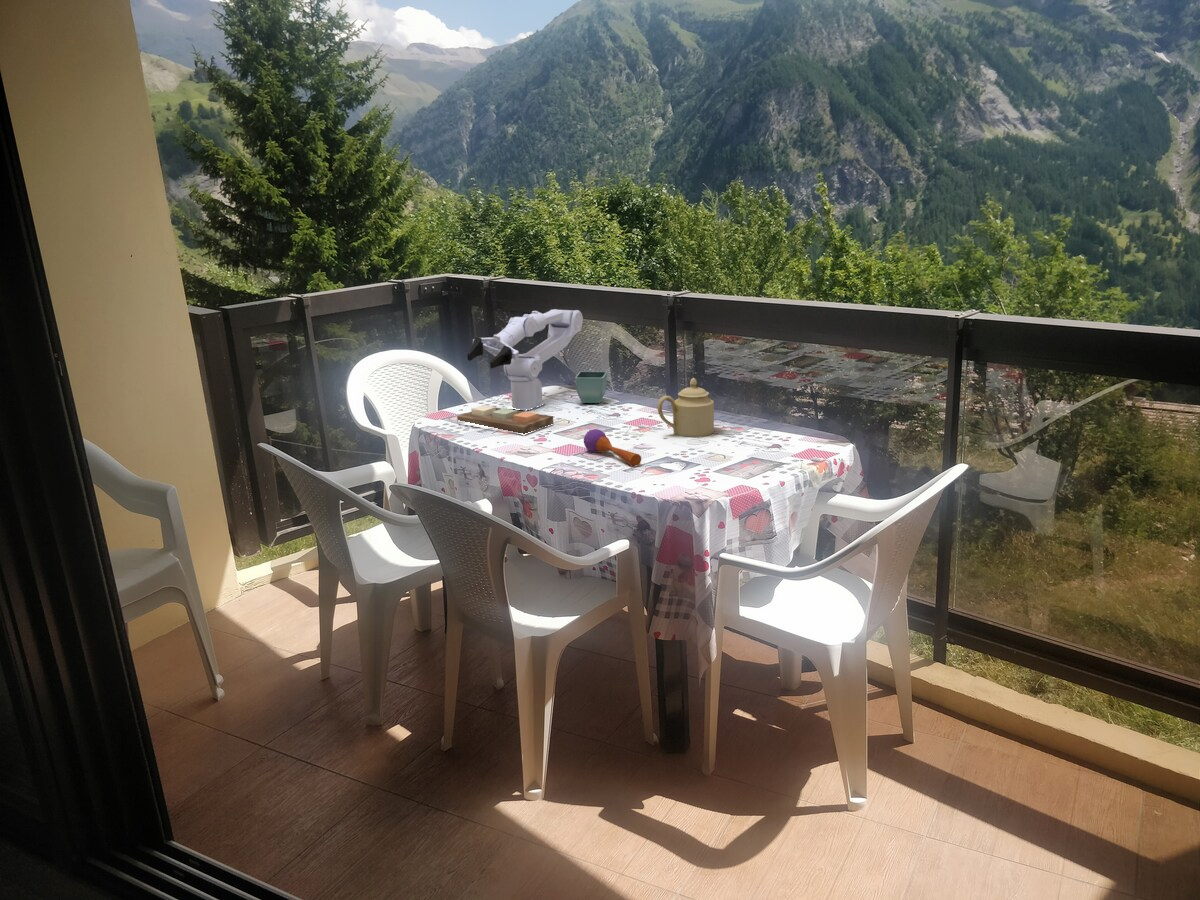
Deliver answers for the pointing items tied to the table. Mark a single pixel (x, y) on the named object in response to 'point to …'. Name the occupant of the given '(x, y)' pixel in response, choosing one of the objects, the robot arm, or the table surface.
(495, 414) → the sage button
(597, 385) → the flower pot
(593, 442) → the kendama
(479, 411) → the cream button
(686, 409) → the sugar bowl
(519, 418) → the terracotta button
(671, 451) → the table surface
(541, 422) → the button panel
